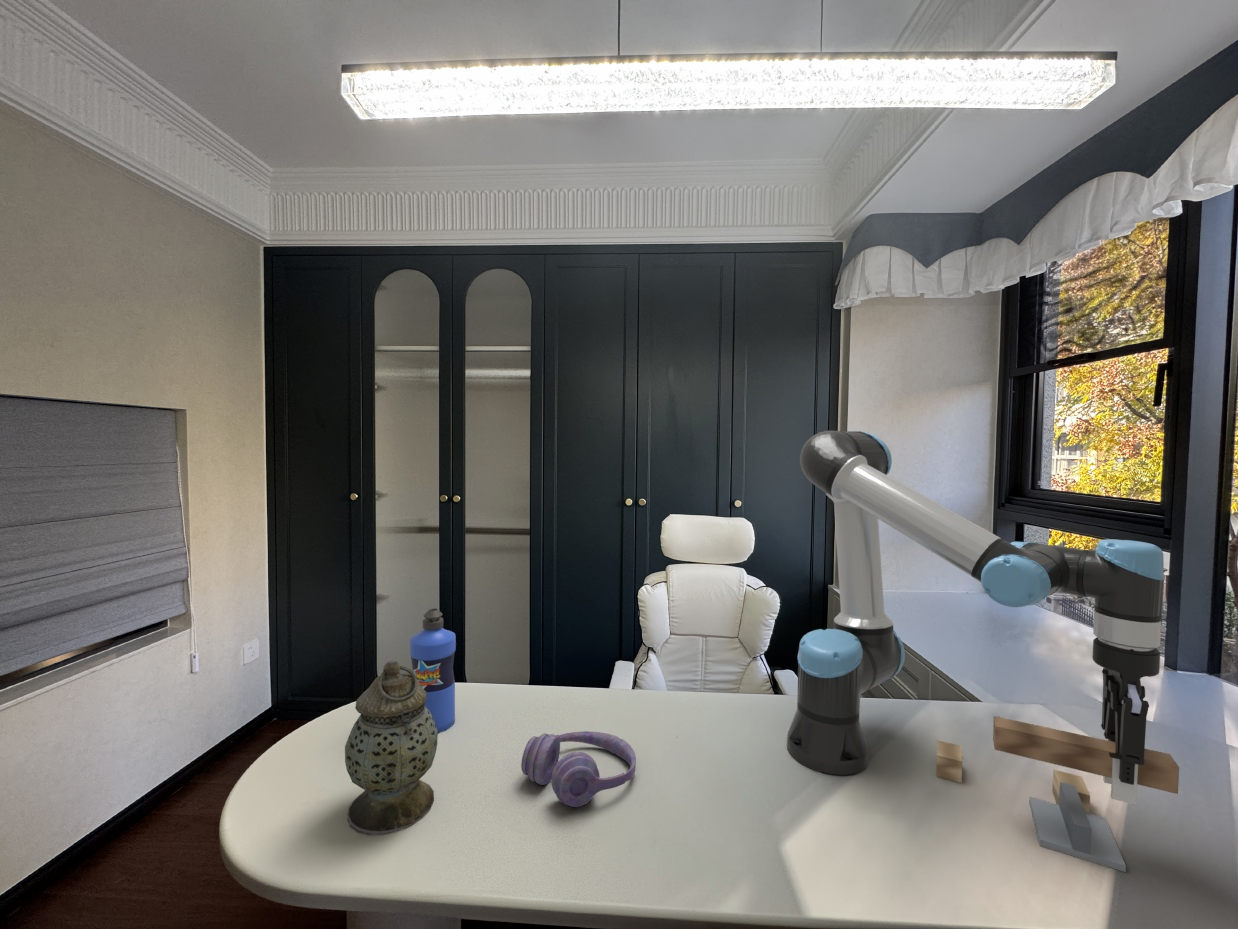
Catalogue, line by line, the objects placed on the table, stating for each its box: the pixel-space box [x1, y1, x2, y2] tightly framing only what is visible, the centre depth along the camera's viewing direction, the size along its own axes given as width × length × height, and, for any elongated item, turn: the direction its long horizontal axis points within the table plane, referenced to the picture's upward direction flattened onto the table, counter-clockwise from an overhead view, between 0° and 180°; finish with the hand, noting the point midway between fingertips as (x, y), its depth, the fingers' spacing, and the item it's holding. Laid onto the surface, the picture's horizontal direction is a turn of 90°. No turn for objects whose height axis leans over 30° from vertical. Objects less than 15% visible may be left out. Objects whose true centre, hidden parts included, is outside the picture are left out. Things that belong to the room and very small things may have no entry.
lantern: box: [344, 660, 438, 836], centre depth 91 cm, size 14×14×25 cm
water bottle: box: [409, 608, 457, 734], centre depth 118 cm, size 9×9×25 cm
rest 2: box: [1051, 769, 1091, 813], centre depth 94 cm, size 4×6×4 cm, turn 149°
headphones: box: [520, 730, 637, 808], centre depth 101 cm, size 18×8×20 cm
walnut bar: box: [992, 715, 1180, 795], centre depth 87 cm, size 22×4×4 cm, turn 59°
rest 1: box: [935, 739, 963, 784], centre depth 104 cm, size 4×6×4 cm, turn 149°
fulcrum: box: [1028, 782, 1127, 873], centre depth 87 cm, size 10×12×5 cm
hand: (1119, 791), depth 84 cm, fingers closed on walnut bar, 4 cm apart
